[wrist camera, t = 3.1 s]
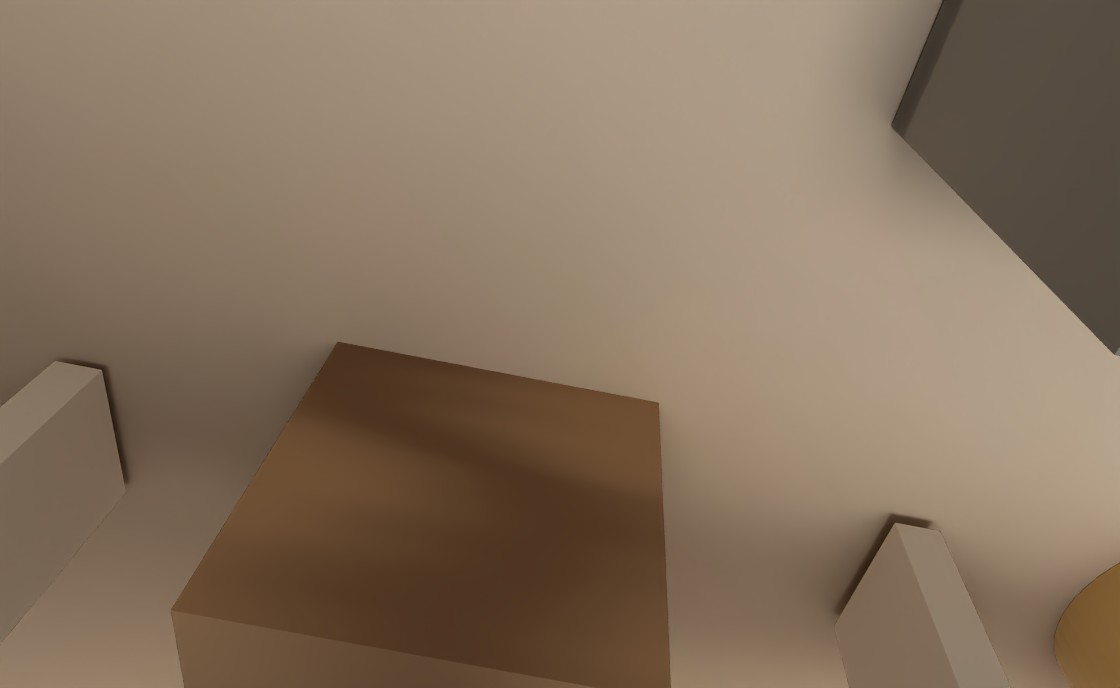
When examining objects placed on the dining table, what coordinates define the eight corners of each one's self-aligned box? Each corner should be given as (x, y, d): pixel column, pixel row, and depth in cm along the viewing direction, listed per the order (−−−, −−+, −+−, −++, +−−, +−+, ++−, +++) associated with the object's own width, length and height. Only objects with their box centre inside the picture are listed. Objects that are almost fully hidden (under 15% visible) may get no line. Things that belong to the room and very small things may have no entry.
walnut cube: (337, 556, 14) (211, 846, 10) (340, 338, 12) (171, 609, 7) (595, 604, 14) (579, 910, 10) (658, 399, 12) (671, 701, 7)
